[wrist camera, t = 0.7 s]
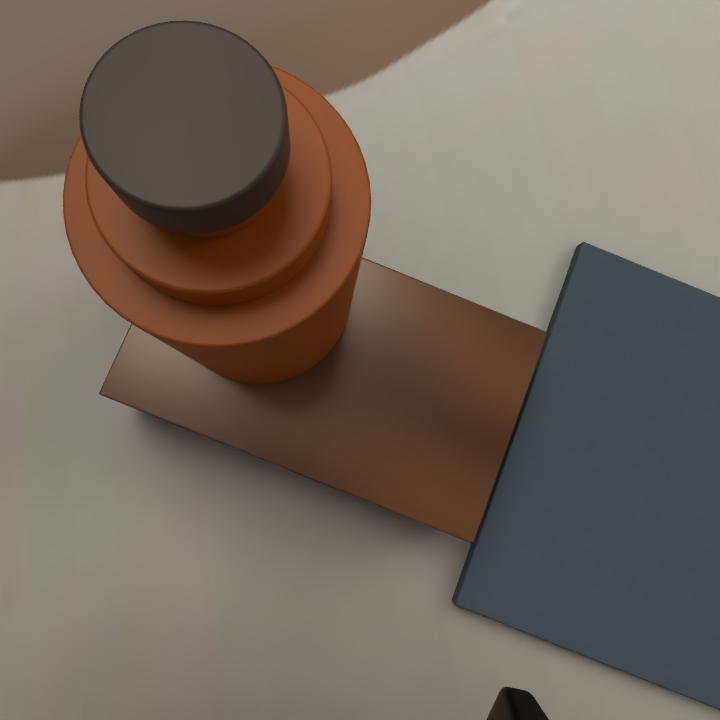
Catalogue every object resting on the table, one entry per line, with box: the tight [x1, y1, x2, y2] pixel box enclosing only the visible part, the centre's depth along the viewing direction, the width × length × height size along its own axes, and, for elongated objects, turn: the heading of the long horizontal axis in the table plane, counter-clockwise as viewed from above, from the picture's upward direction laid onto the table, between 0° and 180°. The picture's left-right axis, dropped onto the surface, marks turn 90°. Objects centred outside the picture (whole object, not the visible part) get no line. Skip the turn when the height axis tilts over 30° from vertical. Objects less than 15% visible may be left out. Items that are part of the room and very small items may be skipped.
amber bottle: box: [63, 21, 371, 384], centre depth 14 cm, size 6×6×11 cm
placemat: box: [452, 242, 720, 710], centre depth 23 cm, size 15×12×1 cm
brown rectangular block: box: [99, 257, 547, 543], centre depth 21 cm, size 8×13×4 cm, turn 68°
